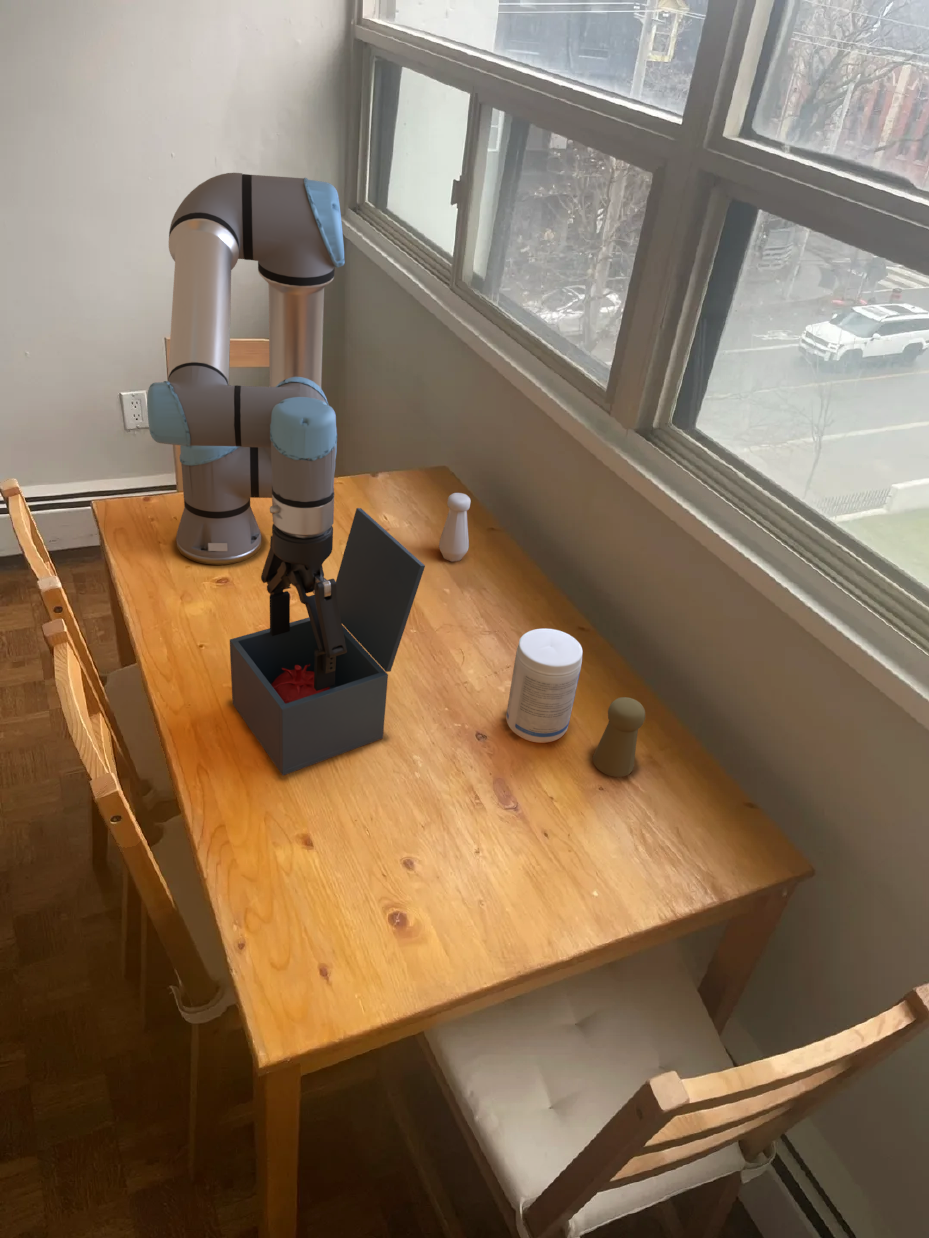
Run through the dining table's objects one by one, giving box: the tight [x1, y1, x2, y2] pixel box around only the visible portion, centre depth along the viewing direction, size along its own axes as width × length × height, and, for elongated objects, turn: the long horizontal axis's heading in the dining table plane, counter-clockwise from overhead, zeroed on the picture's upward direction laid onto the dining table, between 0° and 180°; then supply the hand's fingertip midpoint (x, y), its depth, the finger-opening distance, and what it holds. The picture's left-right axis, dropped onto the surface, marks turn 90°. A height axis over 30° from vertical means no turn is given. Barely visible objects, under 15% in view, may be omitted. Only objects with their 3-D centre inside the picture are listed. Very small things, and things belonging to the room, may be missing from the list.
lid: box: [335, 507, 426, 673], centre depth 125 cm, size 17×17×1 cm
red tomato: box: [271, 664, 330, 704], centre depth 128 cm, size 10×10×9 cm
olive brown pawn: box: [592, 696, 646, 778], centre depth 129 cm, size 6×6×11 cm
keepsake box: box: [229, 616, 389, 777], centre depth 128 cm, size 16×17×12 cm
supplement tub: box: [505, 628, 584, 744], centre depth 133 cm, size 10×10×15 cm
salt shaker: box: [438, 492, 472, 563], centre depth 171 cm, size 6×6×13 cm
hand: (301, 658), depth 125 cm, fingers open, 13 cm apart
